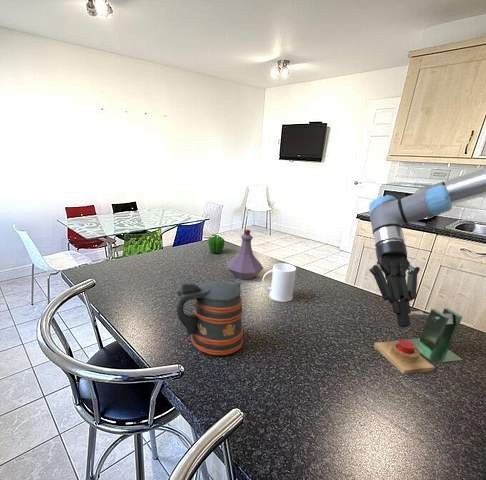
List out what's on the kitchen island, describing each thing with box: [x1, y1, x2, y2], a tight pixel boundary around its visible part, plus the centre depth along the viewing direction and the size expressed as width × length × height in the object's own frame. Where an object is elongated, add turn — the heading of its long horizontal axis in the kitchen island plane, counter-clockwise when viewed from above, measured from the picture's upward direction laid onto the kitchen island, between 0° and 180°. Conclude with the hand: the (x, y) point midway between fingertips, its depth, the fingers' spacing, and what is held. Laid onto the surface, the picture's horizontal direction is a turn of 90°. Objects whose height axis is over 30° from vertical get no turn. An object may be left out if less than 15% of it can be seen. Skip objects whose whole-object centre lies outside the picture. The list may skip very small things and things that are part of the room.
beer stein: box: [176, 280, 244, 357], centre depth 79 cm, size 19×15×20 cm
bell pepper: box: [207, 233, 225, 254], centre depth 152 cm, size 8×8×10 cm
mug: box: [261, 262, 297, 303], centre depth 107 cm, size 12×8×12 cm
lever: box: [409, 310, 453, 324], centre depth 81 cm, size 12×6×2 cm, turn 9°
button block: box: [373, 340, 436, 375], centre depth 77 cm, size 8×11×4 cm
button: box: [397, 339, 415, 354], centre depth 76 cm, size 4×4×2 cm
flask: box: [226, 229, 265, 280], centre depth 123 cm, size 16×16×20 cm
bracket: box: [404, 307, 464, 364], centre depth 78 cm, size 10×9×13 cm
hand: (404, 326), depth 76 cm, fingers closed
